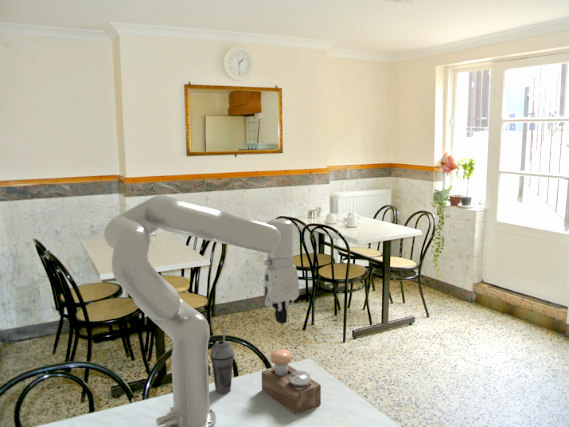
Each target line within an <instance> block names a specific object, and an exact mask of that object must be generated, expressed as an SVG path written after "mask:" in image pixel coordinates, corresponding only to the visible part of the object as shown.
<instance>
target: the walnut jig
mask: <svg viewBox="0 0 569 427" xmlns="http://www.w3.org/2000/svg"><path fill="white" fill-rule="evenodd" d="M295 371H298V370H297V369H295V367H292V366H290V365H289V364H288V375H286V376H283V377H281V378H279V377H277V376H276V375H275V366H274V367H271V368H269V369H265V370H262V371H261V391H262V392H264V393H265V394H267V395H268V396H269V397H271V398H272V399H274V400H275V401H276V402H278V403H279V404H280V405H282V406H283V407H284V408H286V409H287V410H289V411H290V412H291V413H293V414H294V415H296V416H297V415H298V414H302V413H304V412H306V411H308V410H311V409H314V408H317V407H318V406H321V402H322V401H321V400H322V394H321V393H322V392H321V390H322V389H321V388H322V387H321V386H322V385H321V384H320V383H318V382H317V381H315V380H314V379H312V378H310V384H309V385H308V386H307V387H305V388H303V389H300V390H297V389H295V388H294V387H293V386H291V385H290V384H289V375H290V374H291V373H292V372H295Z"/></svg>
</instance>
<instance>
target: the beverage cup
mask: <svg viewBox="0 0 569 427" xmlns="http://www.w3.org/2000/svg"><path fill="white" fill-rule="evenodd" d="M226 328H227V327H226V326H224V327H223V336H222V338H223V339H222V340H220V341H219V340H218V341H217V342H215V343H214V344H213V345H212V347H211V349H210V353H209V357H210V361H211V365H212V366H211V367H212V374H213V380H214V388H215V393H216V394H218V395H227V394H229V393H231V391H232V389H231V388H232V380H233V379H232V378H233V362H234V357H235V353H234V348H233V346H232V345H231V344H230V343H229V342H227V341H226Z"/></svg>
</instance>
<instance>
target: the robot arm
mask: <svg viewBox="0 0 569 427" xmlns="http://www.w3.org/2000/svg"><path fill="white" fill-rule="evenodd" d="M159 229H160V230H163V231H167V232H170V233H174V234H179V235H183V236H189V237H192V238H197V239H202V240H206V241H210V242H214V243H218V244H225V245H230V246H233V247H234V246H236V247H239V248H243V249H247V250H251V251H252V250H253V251H256V252H259V253H260V252H262V253H266V254H267V257H266V260H264V261H263V262H264V266H266V267H265V271H264V276H263V299H264V300H265V301H264V306H266V307H270V308H271V307H272V308H273V309H274V310H275V320H276V322H278V323H279V324H280V325H281V324H282V325H283V324H286V323H287V318H288V310H289V307H290V305H291V303H292V302H294V301H295V300H297V298H298V297H299V296H300V282H299V274H298V270H297V266H296V264H294V224H293V223H292V221H291V220H290V219H286V218H274V219H270V220H251V219H248V218H245V217H241V216H237V215H235V214H233V213H230V212H228V211H224V210H221V209H218V208H214V207H210V206H206V205H204V204H203V205H202V204H198V203H196V202H195V203H194V202H191V201H187V200H183V199H180V198H176V197H171V196H167V195H161V194H160V195H156V196H152V197H151V198H148V199H146V200H145V201H143V202H140V203H139V204H137V205H135V206H134V207H132V208H129V209H127V210H126V211H124V212H122V213H120V214H119V215H116V216H115V217H113V218H112V219H111V220H110V221H108V223H107V225H106V227H105V228H104V232H103V233H104V239H105V242H106V243H107V244H108V246H109V247H110V248H112V249H113V251H112V256H111V271H112V274H113V277H114V279H115V280H116V282H117V284H118V285H119V286H120V287H121V288H122V289H123V290H124V291H125V292H126V293H127V294H128V295H129V296H130V297H131V298H132V299H133V303H134V304H135V306H137V308H138V309H140V310H141V311H142V312H143V313H144V314H145V315H146V316H147V317H148V318H149V319H150V320H151V321H152V322H153V323H154V324H155V325H157V326H158V327H159V329H161V331H163V332H164V333H165V334H166V335H167V336H168V337H169V338H170V339H171V341H172V352H171V358H170V360H171V379H172V382H171V384H172V397H173V399H172V400H173V407H170V408H169V412H168V413H167V414H166V415H162V416H159V417H157V418H156V419H155V420H156V421H155V422H156V425H157V426H162V425H164V427H213V426H214V425H215V423H216V421H217V417H216V416H217V414H216V412H215V411H214V410H213V409H211V407H210V405H211V404H210V402H211V401H210V384H209V383H210V381H209V378H210V377H209V358H208V357H209V356H208V355H209V341H210V333H211V332H210V331H211V330H210V324H209V322H208V319H207V318H206V317H205V316H204V315H203V314H202V313H200V312H199V311H198V310H196V309H195V308H194V307H192V306H191V305H189V304H188V303H186V302H185V301H184V300H183V299H182V298H181V297H180V295H179V293H178V290H176V288H175V287H174V286H173V285H172V284H171V283H169V282H168V281H166V279H165V278H164V277H162V275H161V274H160V273H159V272H158V271H157V270H156V269H155V267H154V266H152V265H151V263H150V262H149V256H148V255H149V250H150V246H151V234H153V233H154V232H157V230H159Z"/></svg>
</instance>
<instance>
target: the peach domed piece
mask: <svg viewBox="0 0 569 427" xmlns="http://www.w3.org/2000/svg"><path fill="white" fill-rule="evenodd" d="M270 360H271V363H273V364H274V367H275V375H276V376H277V377H279V378H281V377H283V376H286V375H288V365H289V363H291V361H292V352H291V350H288V349H286V348H285V349H284V348H283V349H282V348H281V349H280V348H279V349H274V350H273V351H271V353H270Z"/></svg>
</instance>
